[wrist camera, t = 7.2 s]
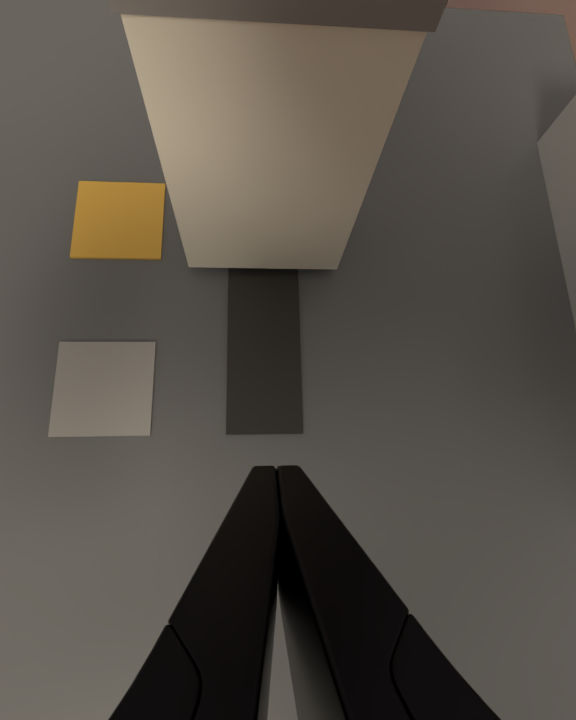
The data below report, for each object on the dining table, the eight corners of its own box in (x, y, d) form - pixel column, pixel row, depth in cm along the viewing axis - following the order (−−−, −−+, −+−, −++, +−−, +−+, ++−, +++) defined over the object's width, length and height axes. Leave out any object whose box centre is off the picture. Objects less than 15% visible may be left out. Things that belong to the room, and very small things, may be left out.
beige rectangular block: (339, 272, 16) (455, -20, 7) (185, 270, 16) (95, -43, 7) (335, 191, 17) (432, -159, 8) (189, 187, 16) (114, -188, 7)
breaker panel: (702, 743, 14) (893, 847, 10) (-247, 810, 12) (-515, 979, 8) (543, 46, 22) (613, -62, 18) (-53, 12, 20) (-136, -120, 16)
